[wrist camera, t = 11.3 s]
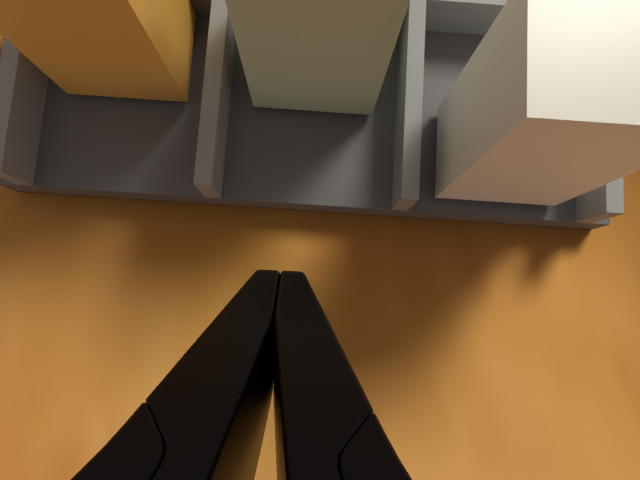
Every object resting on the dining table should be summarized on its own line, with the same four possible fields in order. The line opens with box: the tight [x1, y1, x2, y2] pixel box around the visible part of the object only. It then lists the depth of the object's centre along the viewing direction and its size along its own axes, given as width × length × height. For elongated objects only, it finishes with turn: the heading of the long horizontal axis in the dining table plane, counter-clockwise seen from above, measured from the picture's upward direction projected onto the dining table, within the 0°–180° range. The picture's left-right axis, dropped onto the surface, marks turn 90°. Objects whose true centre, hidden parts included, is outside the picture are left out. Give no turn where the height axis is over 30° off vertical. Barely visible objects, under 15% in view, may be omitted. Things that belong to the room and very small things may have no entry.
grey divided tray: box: [0, 0, 624, 229], centre depth 19 cm, size 8×23×3 cm, turn 86°
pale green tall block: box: [225, 0, 410, 115], centre depth 16 cm, size 4×4×8 cm
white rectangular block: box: [435, 0, 640, 206], centre depth 15 cm, size 4×4×8 cm
